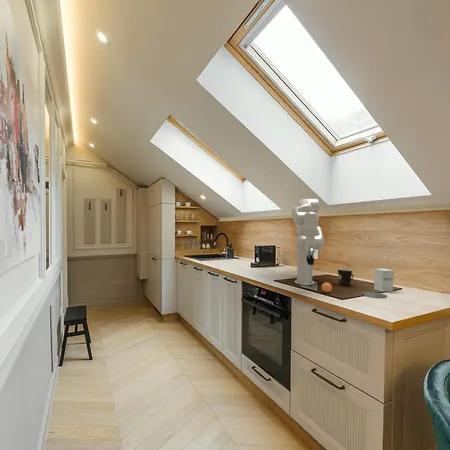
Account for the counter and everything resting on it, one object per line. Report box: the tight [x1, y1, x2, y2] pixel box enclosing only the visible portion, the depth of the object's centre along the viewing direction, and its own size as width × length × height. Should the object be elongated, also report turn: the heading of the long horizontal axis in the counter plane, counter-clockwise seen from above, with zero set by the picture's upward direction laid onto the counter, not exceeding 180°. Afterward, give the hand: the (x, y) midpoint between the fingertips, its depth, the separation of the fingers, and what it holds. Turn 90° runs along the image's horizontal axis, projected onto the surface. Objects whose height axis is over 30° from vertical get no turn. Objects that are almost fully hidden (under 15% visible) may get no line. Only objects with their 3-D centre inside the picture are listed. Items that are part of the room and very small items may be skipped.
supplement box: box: [373, 268, 395, 293], centre depth 174 cm, size 7×7×13 cm
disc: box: [361, 291, 388, 299], centre depth 163 cm, size 13×13×1 cm
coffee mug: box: [337, 268, 354, 287], centre depth 186 cm, size 12×9×10 cm
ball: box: [321, 282, 333, 293], centre depth 168 cm, size 6×6×6 cm
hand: (310, 263), depth 169 cm, fingers open, 8 cm apart
